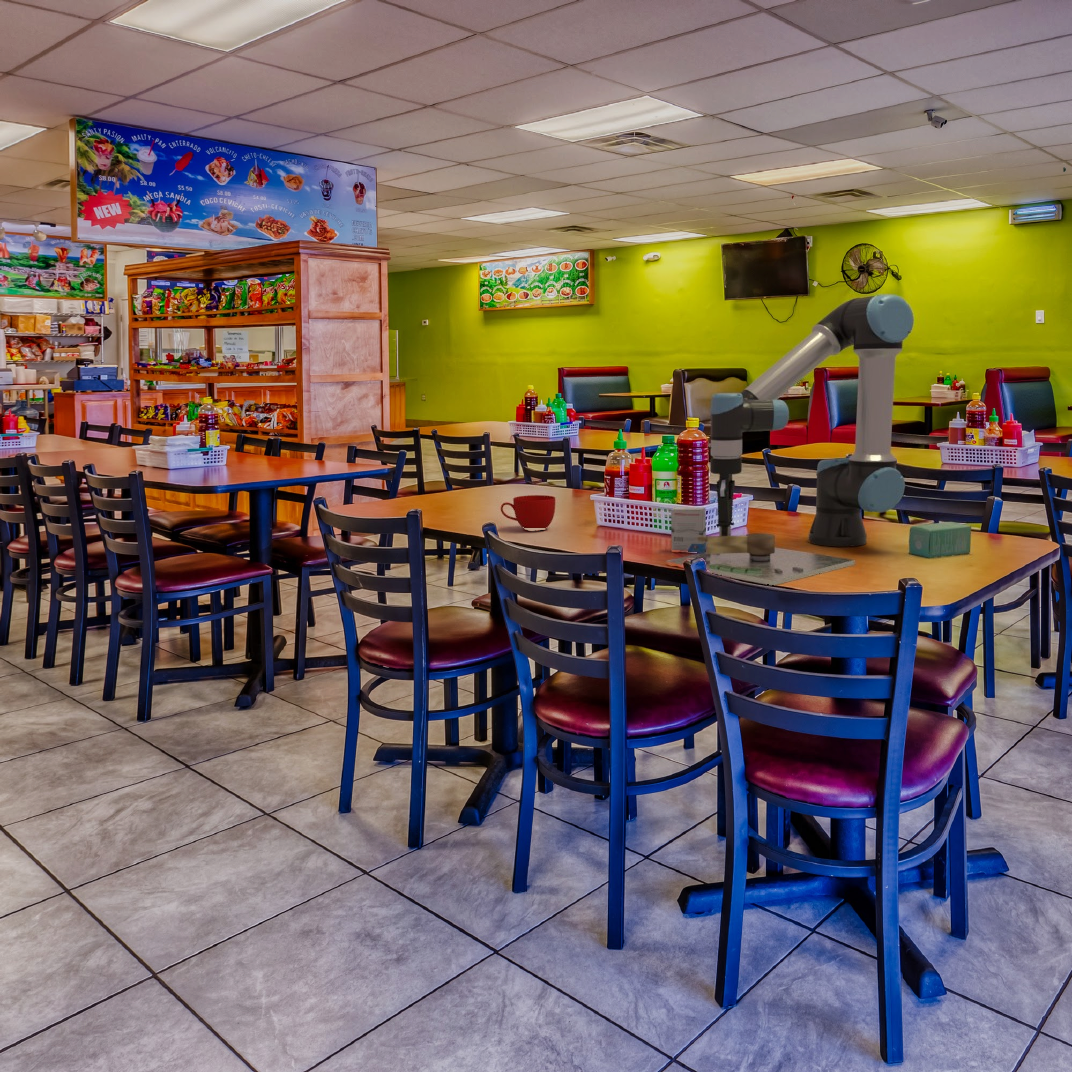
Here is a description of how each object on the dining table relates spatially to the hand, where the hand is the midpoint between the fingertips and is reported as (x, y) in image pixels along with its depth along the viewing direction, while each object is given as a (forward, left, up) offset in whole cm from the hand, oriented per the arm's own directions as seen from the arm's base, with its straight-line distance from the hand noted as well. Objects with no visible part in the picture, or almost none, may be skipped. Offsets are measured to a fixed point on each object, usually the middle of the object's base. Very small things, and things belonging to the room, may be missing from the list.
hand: (724, 551), depth 235 cm
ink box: (-5, -17, -3) cm, 18 cm away
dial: (0, +4, 0) cm, 4 cm away
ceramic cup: (+3, -75, -3) cm, 75 cm away
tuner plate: (-4, +7, -3) cm, 9 cm away
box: (-47, +31, -3) cm, 56 cm away
